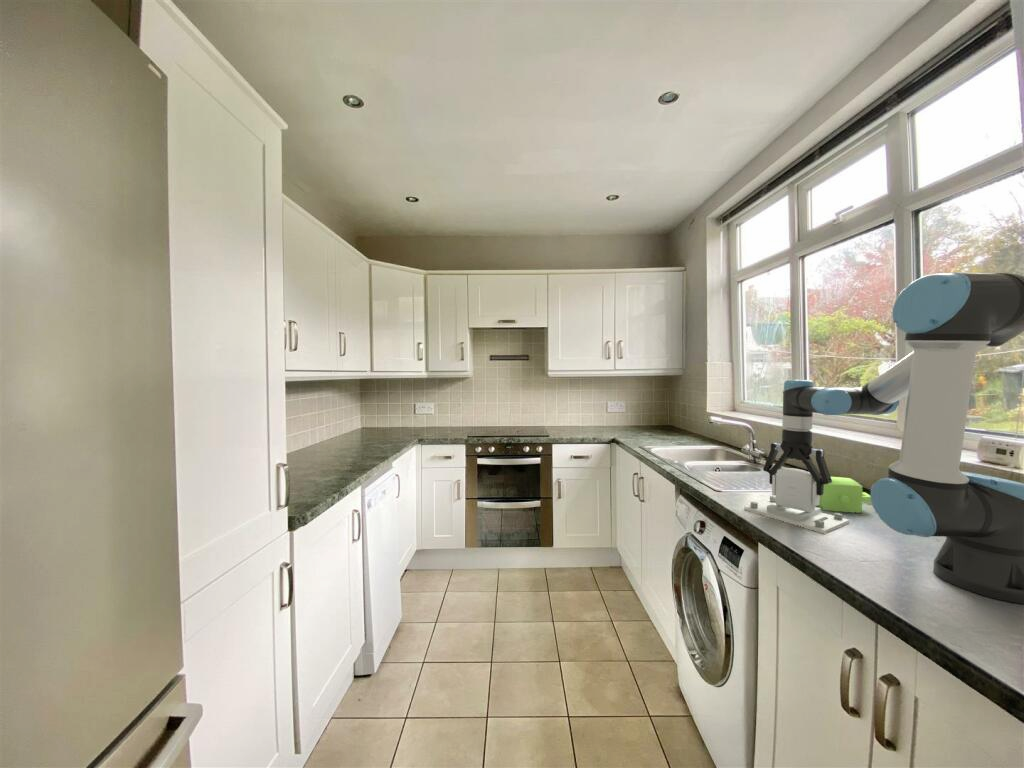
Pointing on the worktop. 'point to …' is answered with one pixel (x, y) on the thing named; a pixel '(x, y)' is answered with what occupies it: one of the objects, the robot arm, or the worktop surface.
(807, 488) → the photo printer
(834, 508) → the gearbox
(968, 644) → the worktop surface
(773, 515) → the plate
